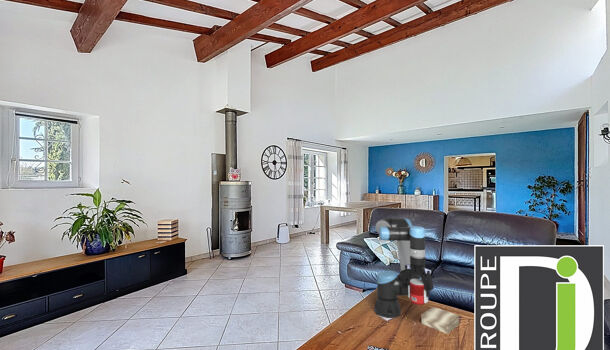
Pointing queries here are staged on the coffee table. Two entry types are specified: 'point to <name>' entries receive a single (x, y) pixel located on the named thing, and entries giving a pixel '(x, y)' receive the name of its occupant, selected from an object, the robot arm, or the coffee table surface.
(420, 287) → the canned food
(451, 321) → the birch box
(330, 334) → the coffee table surface
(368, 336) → the coffee table surface
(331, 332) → the coffee table surface
